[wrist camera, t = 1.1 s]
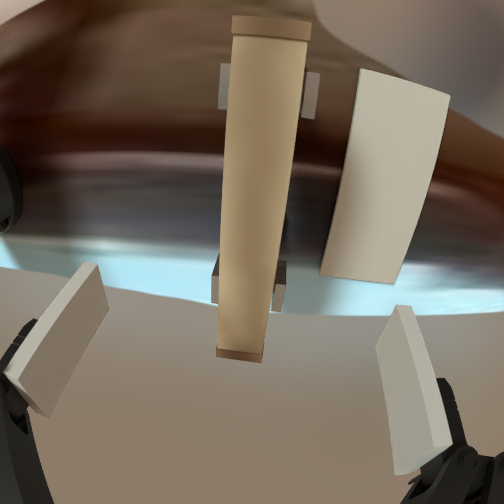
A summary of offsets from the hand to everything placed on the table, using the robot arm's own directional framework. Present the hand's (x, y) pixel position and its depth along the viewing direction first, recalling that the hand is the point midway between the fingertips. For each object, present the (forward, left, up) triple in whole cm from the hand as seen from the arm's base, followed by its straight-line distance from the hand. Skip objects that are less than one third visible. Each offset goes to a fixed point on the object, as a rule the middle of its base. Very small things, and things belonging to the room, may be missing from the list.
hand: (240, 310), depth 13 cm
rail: (0, 0, -13) cm, 13 cm away
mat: (+13, -1, -22) cm, 25 cm away
